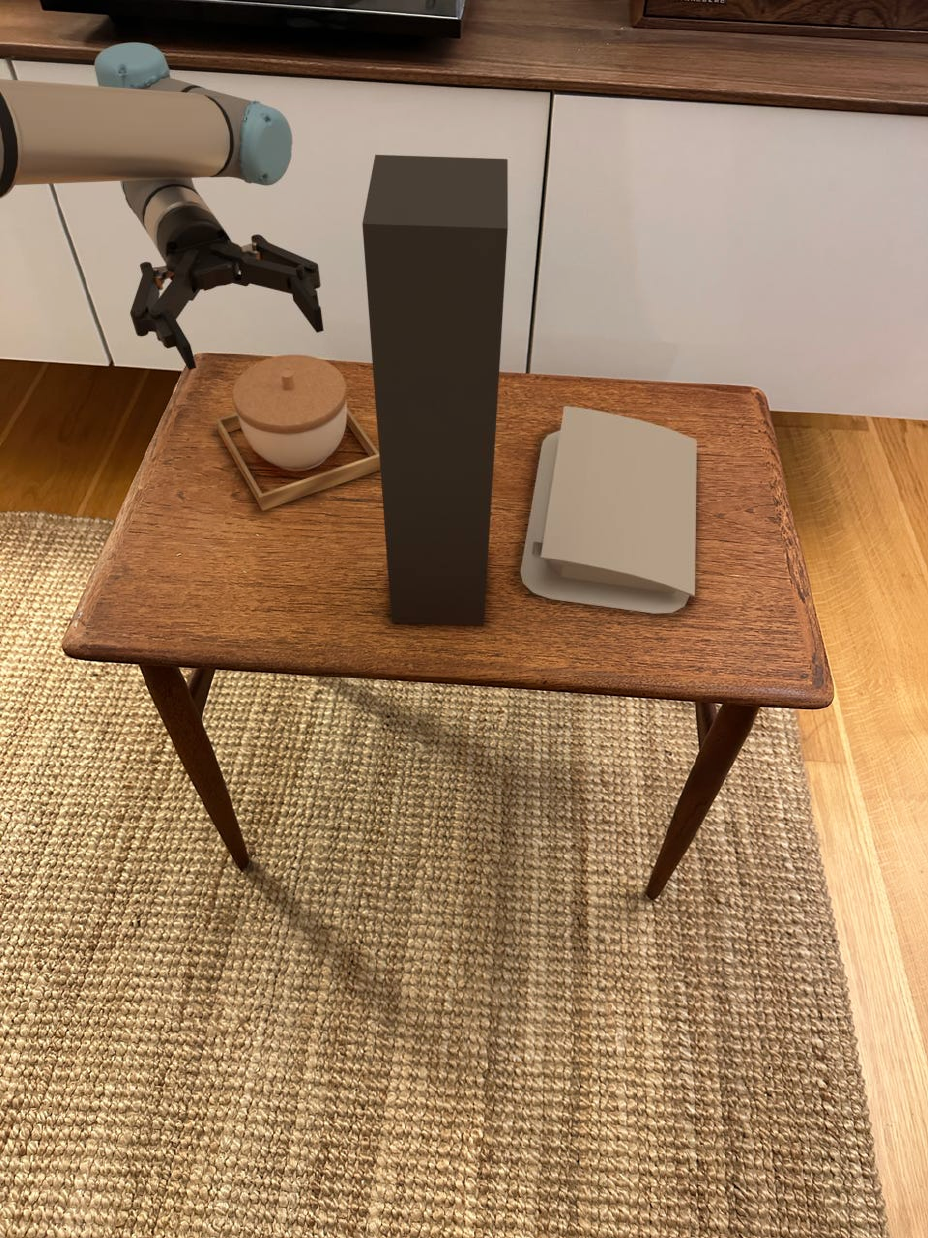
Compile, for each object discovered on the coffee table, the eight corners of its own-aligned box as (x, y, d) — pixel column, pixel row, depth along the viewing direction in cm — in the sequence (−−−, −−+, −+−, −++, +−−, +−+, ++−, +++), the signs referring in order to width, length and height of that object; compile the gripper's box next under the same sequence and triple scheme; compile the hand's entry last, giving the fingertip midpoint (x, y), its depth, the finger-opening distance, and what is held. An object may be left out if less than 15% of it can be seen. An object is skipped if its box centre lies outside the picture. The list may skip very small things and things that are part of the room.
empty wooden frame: (262, 510, 86) (259, 497, 84) (219, 432, 93) (215, 419, 91) (382, 469, 90) (381, 455, 88) (332, 397, 96) (330, 383, 95)
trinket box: (358, 418, 94) (351, 341, 87) (345, 490, 88) (336, 413, 80) (256, 414, 94) (240, 336, 87) (236, 485, 88) (217, 408, 80)
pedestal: (391, 622, 78) (362, 223, 49) (398, 554, 83) (375, 154, 54) (484, 626, 78) (507, 227, 49) (485, 556, 83) (507, 158, 54)
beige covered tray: (516, 594, 80) (519, 565, 77) (545, 426, 94) (548, 396, 91) (690, 618, 79) (700, 590, 76) (693, 445, 93) (701, 414, 90)
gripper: (296, 242, 108) (371, 336, 97) (88, 296, 101) (142, 405, 89) (288, 179, 102) (366, 272, 91) (65, 232, 95) (121, 340, 83)
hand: (255, 338), depth 90 cm, fingers open, 13 cm apart
